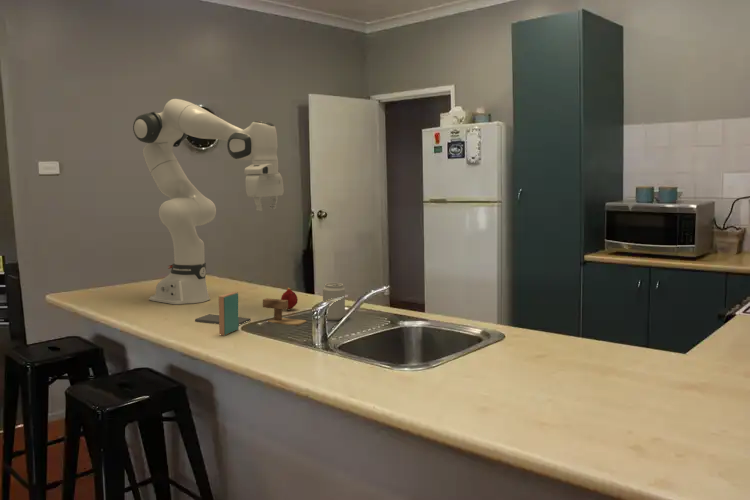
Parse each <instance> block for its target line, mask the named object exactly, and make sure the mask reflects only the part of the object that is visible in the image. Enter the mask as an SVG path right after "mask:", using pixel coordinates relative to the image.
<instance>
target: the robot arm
mask: <svg viewBox="0 0 750 500" xmlns="http://www.w3.org/2000/svg"><path fill="white" fill-rule="evenodd" d="M132 129H133V130H132V131H133V133H134V134H133V135H134V136H135V137H136V139H137V140H138V141H139V142H143V143H144V144H146V145H144V147H143V150H142V155H143V158H144V161H145V163H146V167H147V169H148V171H149V173H150V175H151V177H152V178H153V181H154V182H155V184H156V186H157V189H158V190H159V191H160V192H161V193H162V195H164V196H166V197H167V198H169V199H168V200H166V201H163V203H161V205H160V207H159V209H158V217H159V221H160V222H161V223H162V224H163V226H165V228H167V230H168V231H169V233H170V237H171V240H172V244H173V258H174V260H173V261H174V262H173V263H172V264H171V265H169V266H168V268H167V269H170V272H169V274H168V275H166V276H165V277H164V278H163V279H161V280H160V281H159V282H157V284H156V289H155V294H153V295H150V296H149V299H148V300H149V301H153V302H158V303H159V302H160V303H164V304H171V305H183V304H185V305H186V304H198V303H203V302H207V301H209V300H211V299H210V295H209V291H208V286H207V281H206V280H207V279H206V278H207V277H206V275H207V264H206V262H205V257H206V256H205V243H204V240H202V239H201V238H200V237H199V235H198V232H197V229H196V228H197V226H199V227H200V226H203V225H206V224H208V223H211V222H212V221H213V220H214V219H215V217H216V214H217V207H216V205H215V202H213V201H212V200H211V199H210V198H208V197H206V196H205V195H204V194H203V193H202V192H201V191H199V190H198V189H197V187H196V186H195V185H194V184H193V183H192V182H191V180H190V179H189V178H188V176H187V175H186V173H185V171H184V170H183V167H182V166H181V164H180V162H179V161H178V159H177V157H176V156H175V153H174V151H173V150H174V148H177V147H179V146H180V145H181V143H182V142H183V141H184V140H185V139H186V138H187V137H188V136H190V137H194V138H197V139H205V140H219V141H226V142H227V144H226V147H227V152H228V154H229V155H230V157H231V158H233V159H236V160H239V161H251V163H250V165H248V166H246V167H245V168H244V175H246V176H245V192H246V195H247V198H253V202H254V204H255V210H256V211H257V212H258V211H259V212H262V211H263V209H264V208H263V207H264V205H263V204H262V198H263V197H264V198H266V197H270V200H271V201H270V203H269V209H270V210H276V209H277V203H278V200H279V196H283V195H284V193H285V191H284V187H285V186H284V180H283V176H282V175H281V172H280V171H279V159H278V154H277V153H278V152H277V151H278V147H279V145H278V134H277V128H276V125H275V124H273V123H272V122H268V121H260V120H254V121H253V122H251V123H250V125H249V126H247V127H246V128H241V127H239V126H237V125H234V124H233V123H230V122H228V121H226V120H225V119H222V118H220V117H219V116H217V115H215V114H214V113H212V112H210V111H209V110H207V109H205V108H203V107H201V106H200V105H197V104H195V103H193V102H190V101H188V100H184V99H181V98H172V99H170V100H168V101H167V102H166V103H165V105H164V108H163V110H162V111H161V112H156V111H152V112H147V113H143V114H141V115H138V116H137V117H136V118H135V119H134V121H133V126H132ZM173 147H174V148H173Z"/></svg>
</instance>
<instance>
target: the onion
mask: <svg viewBox="0 0 750 500" xmlns="http://www.w3.org/2000/svg"><path fill="white" fill-rule="evenodd" d="M280 300H288V308H287V309H286V310H288V309H290V310H292V309H293V308H294V307H295V306H297V304H298V296H297V294H296V292H295V291H293V289H291V288H290V287H287V289H286V291H284V292H283V294H282V295H281V297H280Z"/></svg>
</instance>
